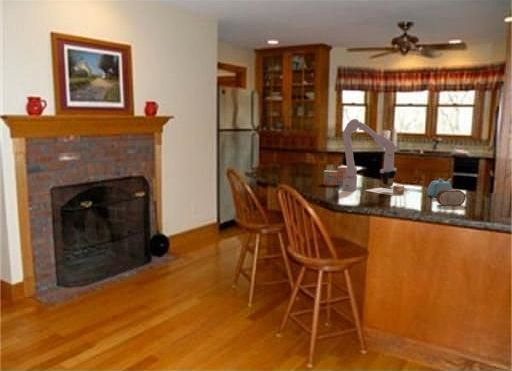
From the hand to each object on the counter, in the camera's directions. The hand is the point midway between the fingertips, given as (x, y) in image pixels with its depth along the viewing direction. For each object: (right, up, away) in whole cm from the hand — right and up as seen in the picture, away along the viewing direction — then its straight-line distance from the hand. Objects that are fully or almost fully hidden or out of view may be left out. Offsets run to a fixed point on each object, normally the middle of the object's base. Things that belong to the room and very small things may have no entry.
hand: (387, 183), depth 268 cm
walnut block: (0, -1, 0) cm, 1 cm away
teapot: (+28, -8, -10) cm, 31 cm away
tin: (+24, -12, -33) cm, 42 cm away
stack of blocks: (-24, -1, +26) cm, 36 cm away
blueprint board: (0, -5, +1) cm, 5 cm away
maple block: (+5, -6, -5) cm, 9 cm away
